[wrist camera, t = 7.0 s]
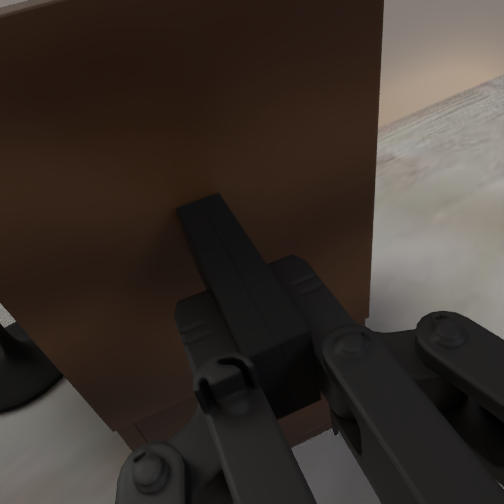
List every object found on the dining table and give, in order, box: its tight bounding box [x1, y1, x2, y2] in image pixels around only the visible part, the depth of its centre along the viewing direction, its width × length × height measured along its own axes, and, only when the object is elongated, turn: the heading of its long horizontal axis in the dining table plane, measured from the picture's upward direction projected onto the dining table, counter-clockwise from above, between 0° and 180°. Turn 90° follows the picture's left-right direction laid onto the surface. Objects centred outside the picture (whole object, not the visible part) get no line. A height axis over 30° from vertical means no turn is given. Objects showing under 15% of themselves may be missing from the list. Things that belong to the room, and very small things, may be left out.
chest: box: [116, 319, 365, 452], centre depth 31 cm, size 16×14×9 cm
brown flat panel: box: [0, 0, 384, 431], centre depth 16 cm, size 17×14×1 cm
